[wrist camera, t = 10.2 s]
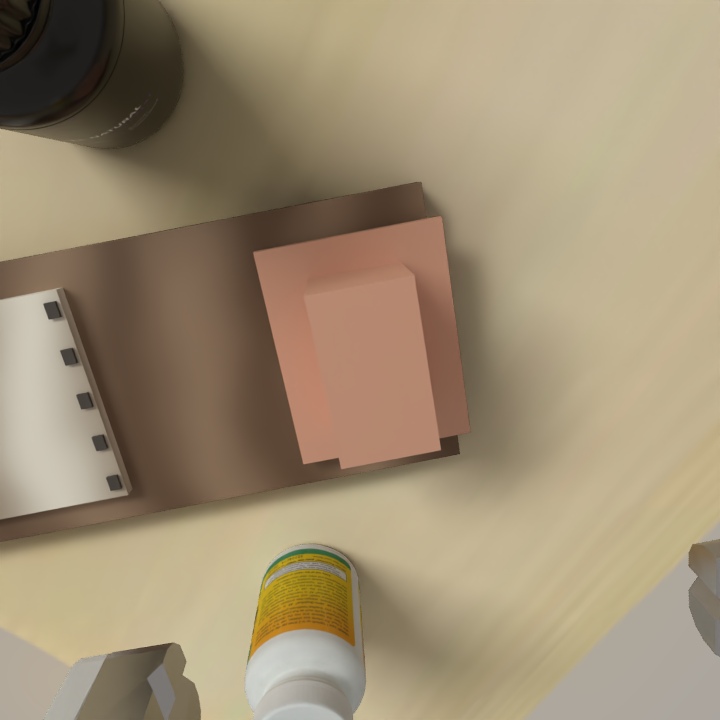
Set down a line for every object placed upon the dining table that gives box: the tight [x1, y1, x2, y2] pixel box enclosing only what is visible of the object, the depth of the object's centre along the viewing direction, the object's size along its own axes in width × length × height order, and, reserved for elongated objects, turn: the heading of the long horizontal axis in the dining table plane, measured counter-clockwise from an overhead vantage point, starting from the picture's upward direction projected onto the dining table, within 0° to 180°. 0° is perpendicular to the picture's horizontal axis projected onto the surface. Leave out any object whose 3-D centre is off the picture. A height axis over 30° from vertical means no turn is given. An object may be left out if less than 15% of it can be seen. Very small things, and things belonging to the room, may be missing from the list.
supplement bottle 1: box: [0, 0, 183, 149], centre depth 17 cm, size 7×7×12 cm
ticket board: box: [0, 182, 460, 542], centre depth 26 cm, size 28×13×2 cm, turn 101°
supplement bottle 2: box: [245, 544, 366, 720], centre depth 26 cm, size 5×5×10 cm
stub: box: [253, 216, 471, 469], centre depth 23 cm, size 8×10×5 cm
